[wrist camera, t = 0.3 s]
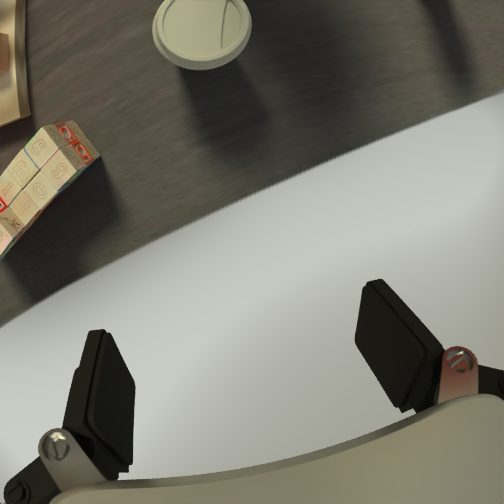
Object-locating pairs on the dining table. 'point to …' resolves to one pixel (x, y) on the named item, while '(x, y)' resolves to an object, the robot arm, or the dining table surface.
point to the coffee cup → (201, 32)
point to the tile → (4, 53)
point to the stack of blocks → (40, 177)
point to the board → (14, 63)
